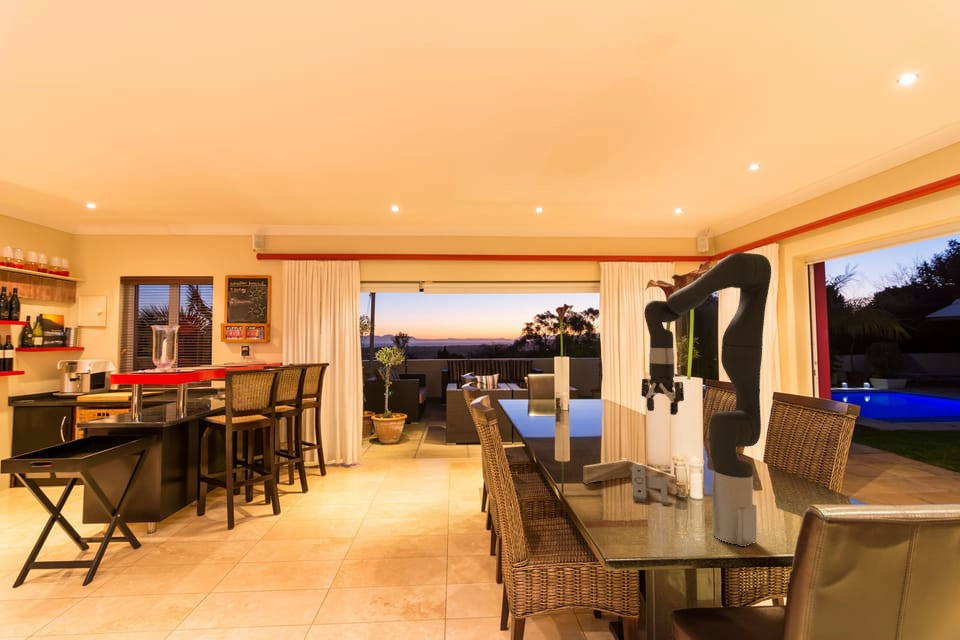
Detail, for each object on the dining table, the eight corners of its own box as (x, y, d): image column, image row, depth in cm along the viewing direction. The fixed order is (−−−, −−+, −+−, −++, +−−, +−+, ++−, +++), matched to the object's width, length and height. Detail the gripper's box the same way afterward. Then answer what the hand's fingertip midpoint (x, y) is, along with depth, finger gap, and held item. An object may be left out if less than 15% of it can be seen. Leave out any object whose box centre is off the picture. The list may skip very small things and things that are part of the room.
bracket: (663, 488, 152) (665, 467, 148) (666, 523, 140) (668, 501, 136) (631, 484, 156) (632, 463, 151) (631, 518, 143) (632, 496, 139)
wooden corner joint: (676, 493, 147) (676, 475, 147) (629, 504, 137) (630, 485, 137) (623, 473, 168) (623, 457, 168) (579, 481, 157) (579, 464, 158)
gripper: (688, 363, 137) (689, 415, 136) (651, 361, 149) (651, 408, 148) (673, 363, 133) (673, 416, 132) (636, 361, 145) (636, 410, 145)
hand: (661, 412), depth 140 cm, fingers open, 8 cm apart
